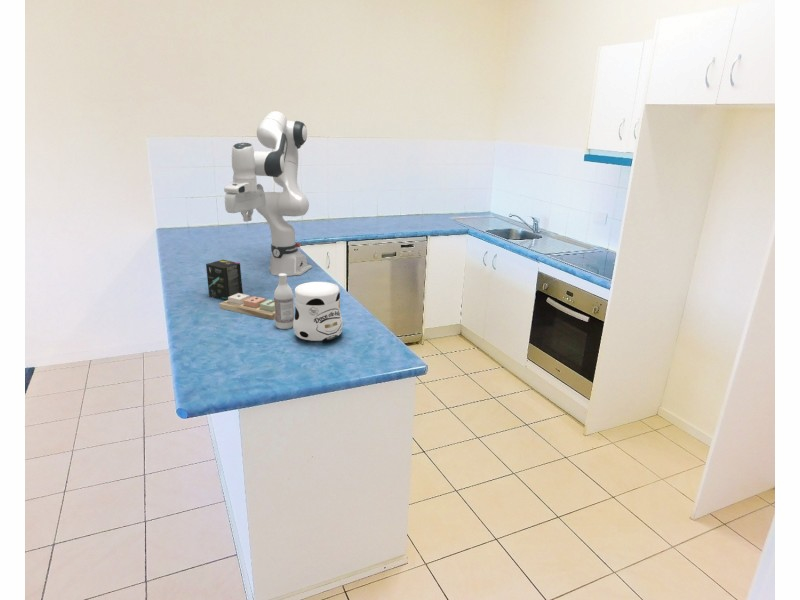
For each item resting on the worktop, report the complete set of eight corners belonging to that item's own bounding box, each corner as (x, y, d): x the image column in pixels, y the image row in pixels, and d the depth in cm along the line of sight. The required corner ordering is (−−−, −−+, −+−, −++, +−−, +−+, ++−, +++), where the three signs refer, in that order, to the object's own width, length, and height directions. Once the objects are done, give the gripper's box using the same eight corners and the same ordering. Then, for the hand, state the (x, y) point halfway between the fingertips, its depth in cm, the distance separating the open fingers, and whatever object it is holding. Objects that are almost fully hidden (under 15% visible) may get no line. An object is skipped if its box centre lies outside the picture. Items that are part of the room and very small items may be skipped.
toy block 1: (238, 302, 221) (238, 292, 219) (250, 304, 218) (249, 294, 217) (228, 306, 215) (227, 296, 214) (240, 309, 213) (239, 299, 212)
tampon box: (243, 295, 229) (241, 262, 224) (226, 301, 221) (223, 267, 216) (225, 291, 234) (222, 258, 229) (208, 296, 226) (205, 263, 222)
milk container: (333, 348, 180) (333, 298, 174) (285, 343, 184) (283, 293, 178) (348, 329, 196) (348, 283, 190) (304, 324, 200) (302, 278, 194)
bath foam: (277, 322, 201) (275, 271, 195) (296, 322, 201) (294, 271, 195) (273, 329, 195) (270, 276, 188) (292, 329, 195) (290, 277, 188)
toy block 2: (254, 305, 217) (253, 295, 216) (266, 307, 215) (265, 298, 214) (244, 309, 212) (243, 300, 211) (256, 312, 210) (255, 302, 208)
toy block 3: (270, 308, 214) (269, 298, 213) (282, 311, 212) (281, 301, 210) (260, 313, 209) (259, 303, 208) (272, 316, 207) (272, 306, 205)
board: (240, 299, 224) (239, 295, 223) (291, 310, 214) (290, 305, 213) (219, 308, 214) (219, 303, 213) (272, 319, 203) (271, 314, 203)
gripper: (256, 182, 220) (258, 216, 224) (220, 188, 202) (223, 224, 207) (268, 184, 217) (270, 217, 222) (233, 189, 200) (236, 226, 204)
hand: (247, 221), depth 214 cm, fingers closed
